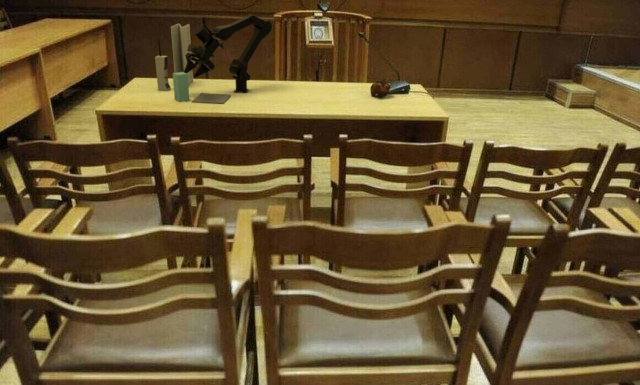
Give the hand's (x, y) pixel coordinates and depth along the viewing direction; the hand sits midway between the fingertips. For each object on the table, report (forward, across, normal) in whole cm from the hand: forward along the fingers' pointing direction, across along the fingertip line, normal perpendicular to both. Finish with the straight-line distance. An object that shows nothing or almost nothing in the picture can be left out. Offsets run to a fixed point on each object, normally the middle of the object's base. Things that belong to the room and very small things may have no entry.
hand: (189, 75), depth 234 cm
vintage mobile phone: (+10, -23, +6) cm, 25 cm away
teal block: (+11, 0, +5) cm, 12 cm away
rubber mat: (+2, +6, +14) cm, 15 cm away
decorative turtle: (-51, +47, +66) cm, 95 cm away
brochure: (0, -28, +16) cm, 33 cm away
